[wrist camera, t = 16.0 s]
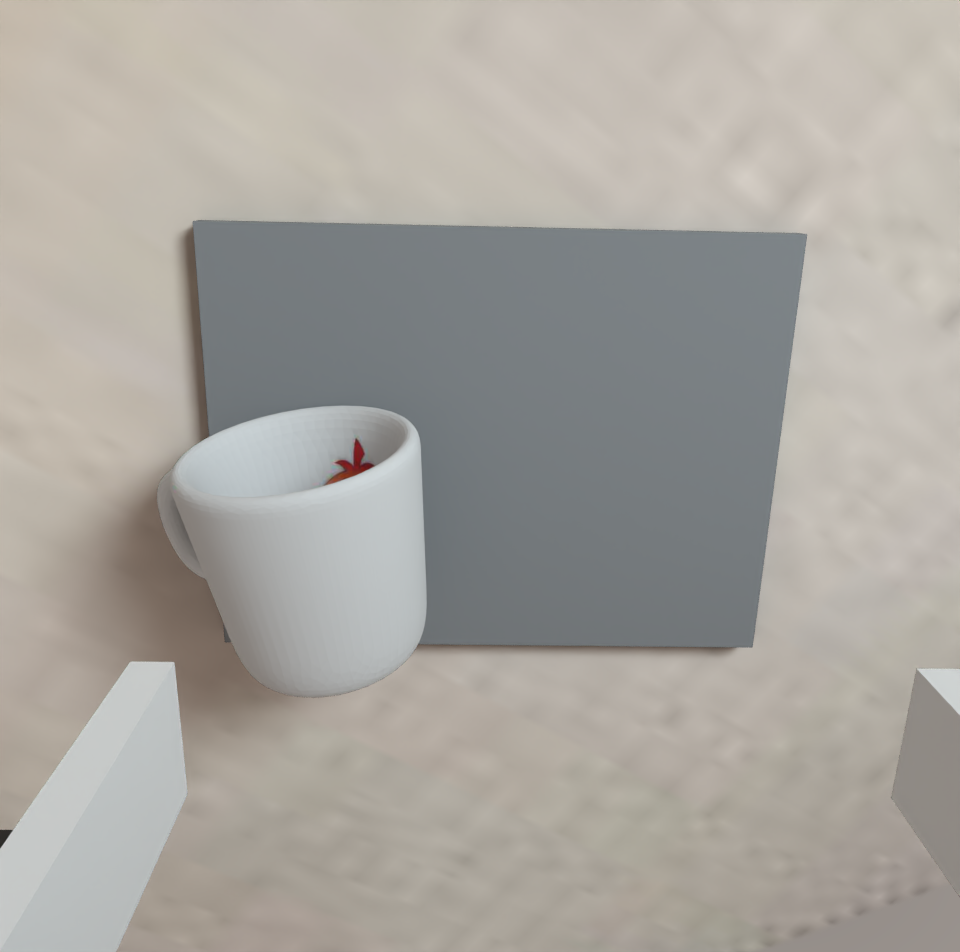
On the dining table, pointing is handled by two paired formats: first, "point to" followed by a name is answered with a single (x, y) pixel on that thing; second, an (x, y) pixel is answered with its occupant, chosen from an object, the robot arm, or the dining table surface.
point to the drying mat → (536, 406)
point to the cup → (308, 543)
